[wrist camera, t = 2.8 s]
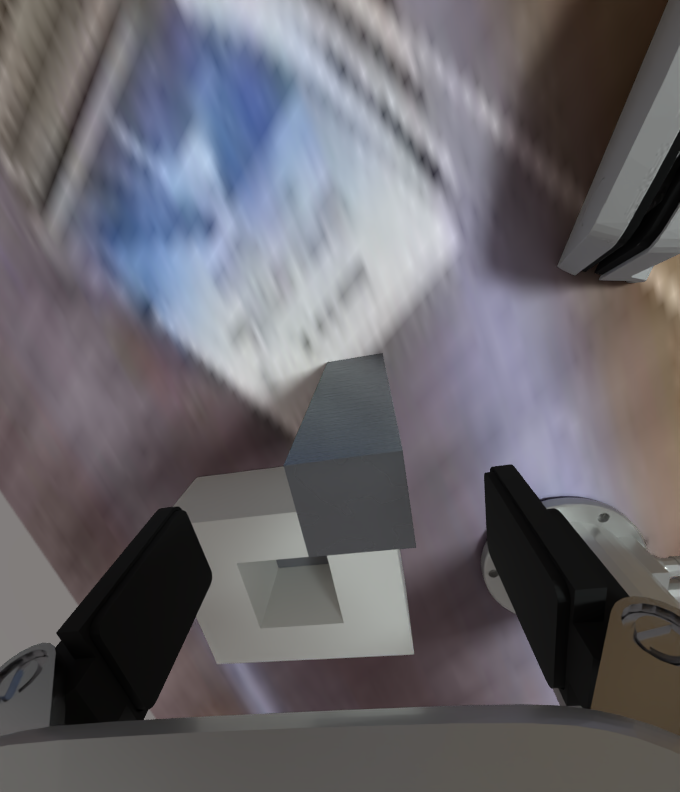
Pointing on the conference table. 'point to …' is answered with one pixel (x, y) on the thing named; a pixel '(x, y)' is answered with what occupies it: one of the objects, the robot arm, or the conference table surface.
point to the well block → (288, 580)
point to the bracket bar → (351, 464)
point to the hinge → (637, 174)
